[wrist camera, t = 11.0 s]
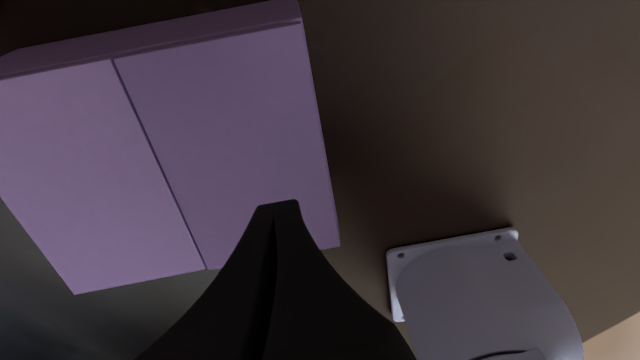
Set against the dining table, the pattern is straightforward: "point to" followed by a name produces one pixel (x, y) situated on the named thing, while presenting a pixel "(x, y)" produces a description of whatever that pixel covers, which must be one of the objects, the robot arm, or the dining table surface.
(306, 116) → the storage box
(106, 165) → the flap
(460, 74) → the dining table surface
